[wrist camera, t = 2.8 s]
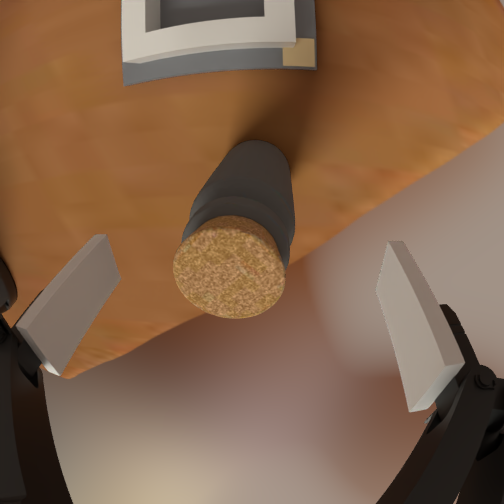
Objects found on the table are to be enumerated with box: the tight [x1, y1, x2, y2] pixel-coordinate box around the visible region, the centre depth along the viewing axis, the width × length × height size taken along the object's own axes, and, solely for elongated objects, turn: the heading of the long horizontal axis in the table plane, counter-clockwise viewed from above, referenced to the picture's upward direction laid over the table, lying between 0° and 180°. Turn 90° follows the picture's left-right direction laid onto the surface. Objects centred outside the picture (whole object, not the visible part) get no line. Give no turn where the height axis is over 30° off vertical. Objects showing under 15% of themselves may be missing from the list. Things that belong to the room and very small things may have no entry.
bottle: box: [173, 140, 295, 318], centre depth 18 cm, size 6×6×15 cm
